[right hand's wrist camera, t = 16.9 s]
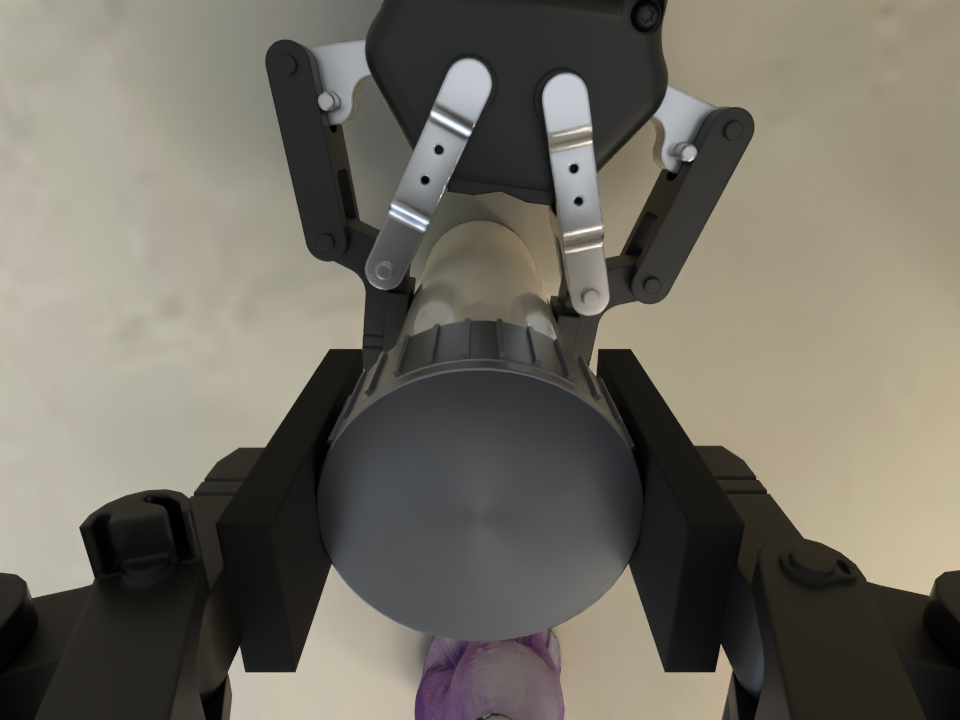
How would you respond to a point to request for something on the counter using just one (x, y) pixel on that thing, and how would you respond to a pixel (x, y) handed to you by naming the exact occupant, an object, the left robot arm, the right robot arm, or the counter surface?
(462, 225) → the jar
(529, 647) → the figurine
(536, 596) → the lid
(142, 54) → the counter surface
